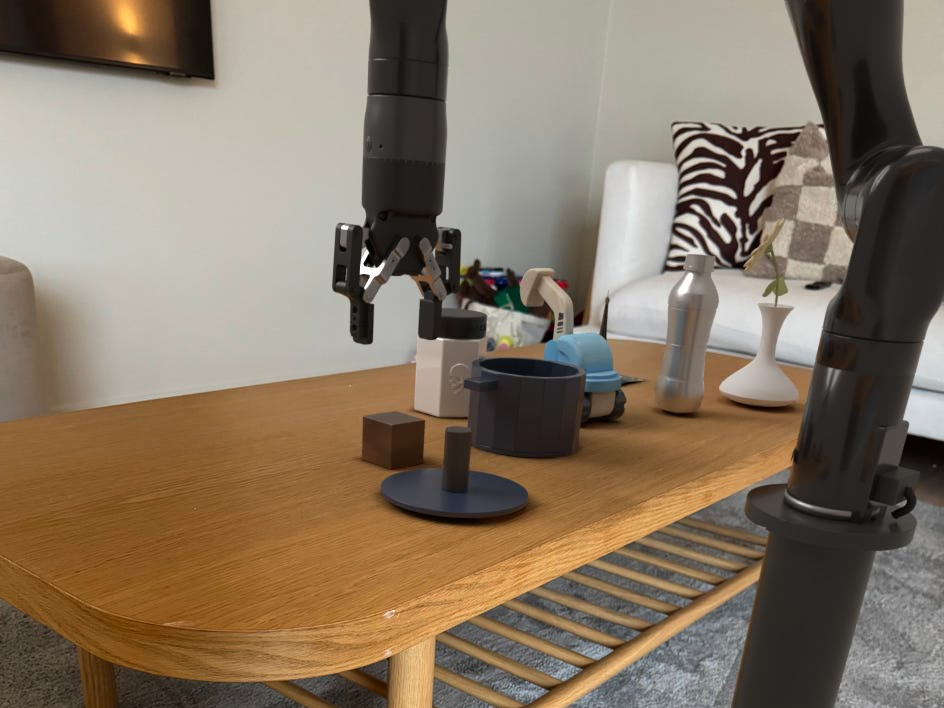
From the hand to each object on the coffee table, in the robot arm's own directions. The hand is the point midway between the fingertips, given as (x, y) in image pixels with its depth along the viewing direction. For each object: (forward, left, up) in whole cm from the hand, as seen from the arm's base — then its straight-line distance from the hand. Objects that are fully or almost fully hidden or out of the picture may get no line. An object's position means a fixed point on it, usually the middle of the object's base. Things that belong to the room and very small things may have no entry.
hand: (396, 341), depth 94 cm
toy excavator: (+6, -35, -12) cm, 38 cm away
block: (0, 0, -12) cm, 12 cm away
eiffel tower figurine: (+18, -58, -12) cm, 62 cm away
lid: (-13, +4, -11) cm, 18 cm away
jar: (+14, -22, -12) cm, 29 cm away
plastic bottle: (-2, -50, -12) cm, 52 cm away
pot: (-2, -18, -12) cm, 22 cm away
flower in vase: (-5, -66, -12) cm, 67 cm away
